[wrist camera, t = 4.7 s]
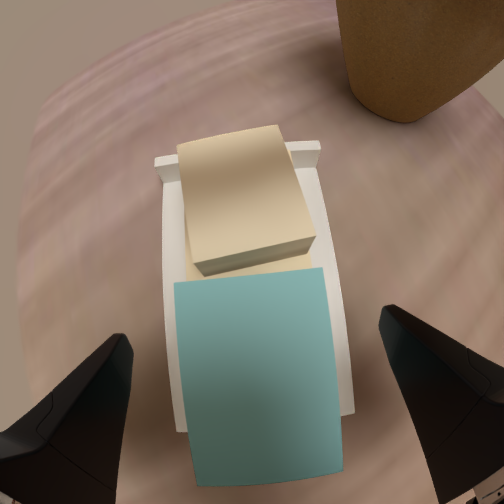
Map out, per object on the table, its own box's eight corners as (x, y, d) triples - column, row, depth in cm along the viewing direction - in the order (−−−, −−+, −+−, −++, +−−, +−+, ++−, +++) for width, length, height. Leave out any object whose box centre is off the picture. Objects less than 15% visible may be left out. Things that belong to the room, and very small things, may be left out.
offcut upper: (306, 253, 14) (316, 235, 12) (204, 277, 14) (193, 263, 11) (275, 153, 16) (277, 124, 13) (187, 172, 15) (176, 145, 13)
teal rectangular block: (295, 399, 14) (343, 471, 5) (231, 406, 14) (197, 486, 5) (285, 310, 16) (322, 266, 7) (222, 317, 16) (173, 282, 6)
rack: (351, 411, 14) (366, 421, 12) (179, 429, 14) (166, 442, 12) (312, 163, 19) (318, 140, 17) (166, 179, 19) (155, 157, 16)
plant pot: (290, 49, 23) (299, -90, 8) (413, 59, 24) (453, -46, 9) (335, 164, 19) (408, -59, 4) (477, 163, 19) (572, 48, 4)
